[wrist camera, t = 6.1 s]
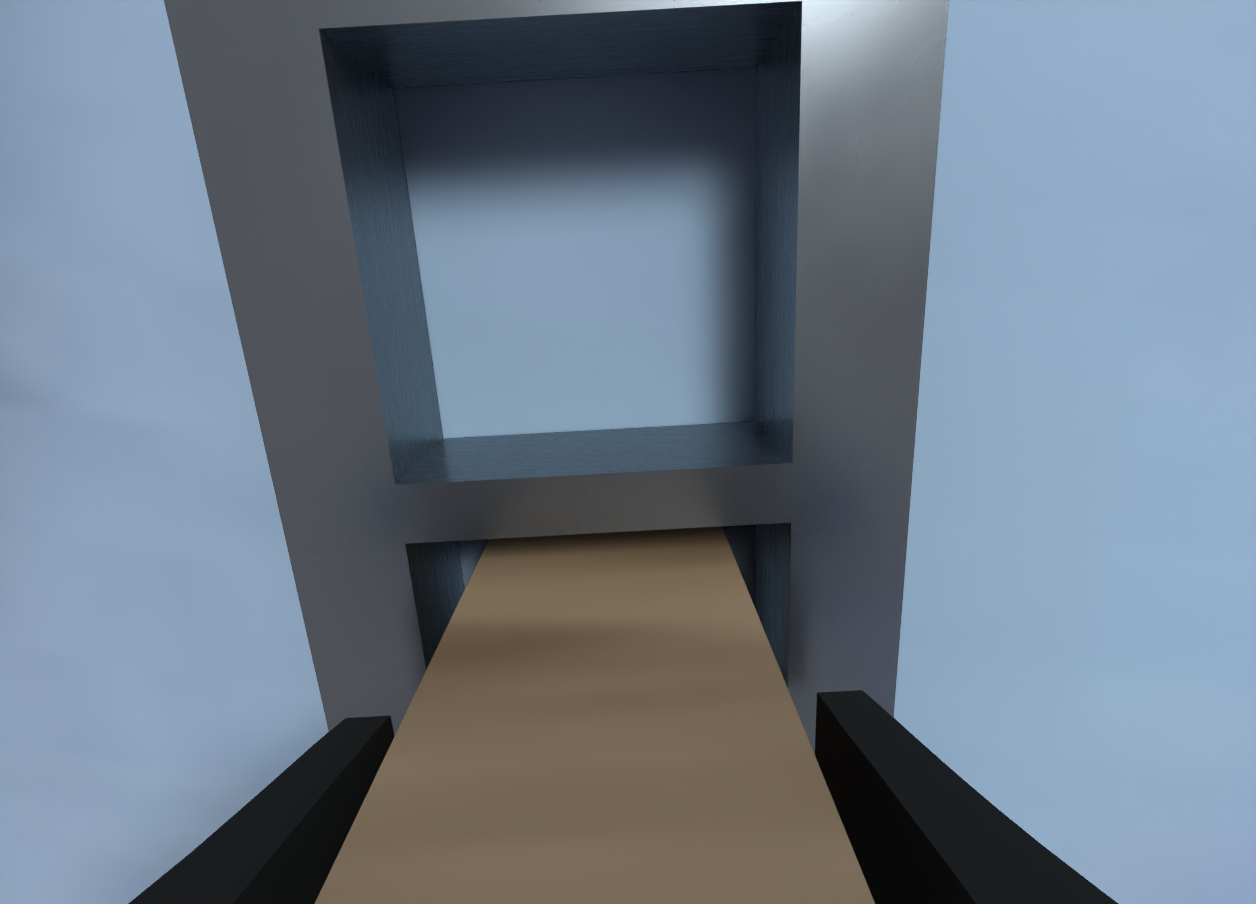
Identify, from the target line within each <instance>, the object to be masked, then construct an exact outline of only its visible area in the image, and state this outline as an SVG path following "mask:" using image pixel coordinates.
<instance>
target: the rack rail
mask: <svg viewBox="0 0 1256 904" xmlns="http://www.w3.org/2000/svg"><path fill="white" fill-rule="evenodd" d="M164 2H165V7H166V11H167V16H168V20H169V24H170V29H171V33H172V38H173V42H174V47H175V51H176V55H177V60H178V64H179V69H180V73H181V78H182V82H183V87H184V91H185V95H186V100H187V104H188V109H189V113H190V118H191V122H192V126H193V131H194V135H195V140H196V144H197V149H198V153H199V157H200V162H201V166H202V171H203V175H204V180H205V184H206V188H207V193H208V197H209V202H210V206H211V211H212V215H213V220H214V224H215V228H216V233H217V237H218V242H219V246H220V251H221V255H222V259H223V264H224V268H225V273H226V277H227V282H228V286H229V290H230V295H231V299H232V304H233V308H234V313H235V317H236V321H237V326H238V330H239V335H240V339H241V344H242V348H243V353H244V357H245V361H246V366H247V370H248V375H249V379H250V384H251V388H252V392H253V397H254V401H255V406H256V410H257V415H258V419H259V423H260V428H261V432H262V437H263V441H264V446H265V450H266V454H267V459H268V463H269V468H270V472H271V477H272V481H273V485H274V490H275V494H276V499H277V503H278V508H279V512H280V517H281V521H282V525H283V530H284V534H285V539H286V543H287V548H288V552H289V556H290V561H291V565H292V570H293V574H294V579H295V583H296V587H297V592H298V596H299V601H300V605H301V610H302V614H303V618H304V623H305V627H306V632H307V636H308V641H309V645H310V650H311V654H312V658H313V663H314V667H315V672H316V676H317V681H318V685H319V689H320V694H321V698H322V703H323V707H324V712H325V716H326V720H327V725H328V729H329V731H330V730H332V729H333V728H334V727H335V726H337V725H338V724H339V723H340V722H341V721H343V720H344V719H345V718H353V717H372V716H390V715H391V720H392V725H393V730H394V736H395V735H396V733H397V730H398V728H399V726H400V724H401V722H402V720H403V718H404V716H405V714H406V712H407V710H408V707H409V705H410V703H411V701H412V699H413V697H414V695H415V693H416V691H417V689H418V687H419V684H420V682H421V680H422V678H423V676H424V674H425V672H426V670H427V668H428V666H429V664H430V661H431V659H432V657H433V655H434V653H435V651H436V649H437V647H438V645H439V643H440V641H441V638H442V636H443V634H444V632H445V630H446V628H447V626H448V624H449V622H450V620H451V618H452V615H453V613H454V611H455V609H456V607H457V605H458V603H459V601H460V599H461V597H462V595H463V592H464V590H465V589H464V582H463V575H462V568H461V561H460V554H459V547H458V541H463V540H481V539H499V538H517V537H536V536H554V535H572V534H590V533H609V532H627V531H645V530H663V529H682V528H700V527H718V526H736V525H755V609H756V612H757V614H758V616H759V619H760V621H761V624H762V626H763V629H764V631H765V634H766V636H767V639H768V641H769V644H770V646H771V649H772V651H773V653H774V656H775V658H776V661H777V663H778V666H779V668H780V671H781V673H782V676H783V678H784V681H785V683H786V685H787V688H788V690H789V693H790V695H791V698H792V700H793V703H794V705H795V708H796V710H797V713H798V715H799V718H800V720H801V722H802V725H803V727H804V730H805V732H806V735H807V737H808V740H809V742H810V745H811V747H812V750H813V752H814V755H815V732H816V704H817V693H818V692H836V691H855V690H863V691H864V692H865V693H866V694H867V695H869V696H870V697H871V698H872V699H873V700H874V701H875V702H877V703H878V704H879V705H880V706H881V707H882V708H883V709H884V710H885V711H887V712H888V713H889V714H890V715H891V716H892V717H893V716H894V703H895V690H896V677H897V664H898V651H899V638H900V626H901V613H902V600H903V587H904V574H905V561H906V548H907V535H908V522H909V509H910V496H911V484H912V471H913V458H914V445H915V432H916V419H917V406H918V393H919V380H920V367H921V354H922V342H923V329H924V316H925V303H926V290H927V277H928V264H929V251H930V238H931V225H932V212H933V200H934V187H935V174H936V161H937V148H938V135H939V122H940V109H941V96H942V83H943V70H944V58H945V45H946V32H947V19H948V6H949V0H164ZM751 67H757V197H756V421H754V422H736V423H718V424H700V425H682V426H664V427H646V428H628V429H610V430H592V431H574V432H555V433H537V434H519V435H501V436H483V437H465V438H447V439H443V434H442V427H441V420H440V413H439V406H438V399H437V392H436V385H435V378H434V371H433V364H432V357H431V350H430V343H429V335H428V328H427V321H426V314H425V307H424V300H423V293H422V286H421V279H420V272H419V265H418V258H417V251H416V244H415V237H414V230H413V223H412V216H411V209H410V202H409V194H408V187H407V180H406V173H405V166H404V159H403V152H402V145H401V138H400V131H399V124H398V117H397V110H396V103H395V96H394V89H393V88H402V87H419V86H437V85H454V84H471V83H489V82H506V81H524V80H541V79H559V78H576V77H594V76H611V75H628V74H646V73H663V72H681V71H698V70H716V69H733V68H751Z"/></svg>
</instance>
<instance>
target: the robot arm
mask: <svg viewBox="0 0 1256 904" xmlns="http://www.w3.org/2000/svg"><path fill="white" fill-rule="evenodd" d="M394 737H395V736H394V730H393V725H392V720H391V715H390V716H372V717H353V718H345V719H344V720H343V721H341V722H340V723H339V724H338V725H337V726H335V727H334V728H333V729H332V730H330V731H329V732H328V733H327V734H326V735H325V736H323V737H322V738H321V739H320V740H319V741H318V742H317V743H315V744H314V745H313V746H312V747H311V748H310V749H309V750H307V751H306V752H305V753H304V754H303V755H302V756H301V757H300V758H298V759H297V760H296V761H295V762H294V763H293V764H292V765H291V766H289V767H288V768H287V769H286V770H285V771H284V772H283V773H282V774H280V775H279V776H278V777H277V778H276V779H275V780H274V781H273V782H271V783H270V784H269V785H268V786H267V787H266V788H265V789H264V790H262V791H261V792H260V793H259V794H258V795H257V796H256V797H254V798H253V799H252V800H251V801H250V802H249V803H248V804H246V805H245V806H244V807H243V808H242V809H241V810H240V811H238V812H237V813H236V814H235V815H234V816H233V817H231V818H230V819H229V820H228V821H227V822H226V823H225V824H223V825H222V826H221V827H220V828H219V829H218V830H217V831H215V832H214V833H213V834H212V835H211V836H210V837H209V838H207V839H206V840H205V841H204V842H203V843H202V844H201V845H199V846H198V847H197V848H196V849H195V850H193V851H192V852H191V853H190V854H189V855H187V856H186V857H185V858H184V859H183V860H181V861H180V862H179V863H178V864H176V865H175V866H174V867H173V868H172V869H170V870H169V871H168V872H167V873H165V874H164V875H163V876H162V877H161V878H159V879H158V880H157V881H156V882H155V883H153V884H152V885H151V886H150V887H148V888H147V889H146V890H145V891H144V892H142V893H141V894H140V895H139V896H137V897H136V898H135V899H134V900H133V901H131V902H130V903H129V904H315V902H316V900H317V898H318V896H319V894H320V891H321V889H322V887H323V885H324V883H325V881H326V879H327V877H328V875H329V873H330V871H331V868H332V866H333V864H334V862H335V860H336V858H337V856H338V854H339V852H340V850H341V848H342V845H343V843H344V841H345V839H346V837H347V835H348V833H349V831H350V829H351V827H352V825H353V822H354V820H355V818H356V816H357V814H358V812H359V810H360V808H361V806H362V804H363V802H364V799H365V797H366V795H367V793H368V791H369V789H370V787H371V785H372V783H373V781H374V779H375V776H376V774H377V772H378V770H379V768H380V766H381V764H382V762H383V760H384V758H385V756H386V753H387V751H388V749H389V747H390V745H391V743H392V741H393V739H394ZM815 757H816V759H817V762H818V764H819V767H820V769H821V772H822V774H823V777H824V779H825V782H826V784H827V787H828V789H829V791H830V794H831V796H832V799H833V801H834V804H835V806H836V809H837V811H838V814H839V816H840V819H841V821H842V824H843V826H844V828H845V831H846V833H847V836H848V838H849V841H850V843H851V846H852V848H853V851H854V853H855V856H856V858H857V860H858V863H859V865H860V868H861V870H862V873H863V875H864V878H865V880H866V883H867V885H868V888H869V890H870V893H871V895H872V897H873V900H874V902H875V904H1118V903H1117V902H1115V901H1114V900H1113V899H1111V898H1110V897H1109V896H1107V895H1106V894H1105V893H1103V892H1102V891H1101V890H1099V889H1098V888H1097V887H1096V886H1094V885H1093V884H1092V883H1090V882H1089V881H1088V880H1087V879H1085V878H1084V877H1083V876H1081V875H1080V874H1079V873H1077V872H1076V871H1075V870H1074V869H1072V868H1071V867H1070V866H1068V865H1067V864H1066V863H1065V862H1063V861H1062V860H1061V859H1059V858H1058V857H1057V856H1056V855H1054V854H1053V853H1052V852H1050V851H1049V850H1048V849H1046V848H1045V847H1044V846H1043V845H1041V844H1040V843H1039V842H1038V841H1036V840H1035V839H1034V838H1033V837H1031V836H1030V835H1029V834H1028V833H1027V832H1025V831H1024V830H1023V829H1022V828H1020V827H1019V826H1018V825H1017V824H1015V823H1014V822H1013V821H1012V820H1010V819H1009V818H1008V817H1007V816H1006V815H1004V814H1003V813H1002V812H1001V811H1000V810H998V809H997V808H996V807H995V806H994V805H992V804H991V803H990V802H989V801H988V800H987V799H985V798H984V797H983V796H982V795H981V794H979V793H978V792H977V791H976V790H975V789H974V788H972V787H971V786H970V785H969V784H968V783H967V782H965V781H964V780H963V779H962V778H961V777H960V776H958V775H957V774H956V773H955V772H954V771H953V770H952V769H950V768H949V767H948V766H947V765H946V764H945V763H943V762H942V761H941V760H940V759H939V758H938V757H937V756H936V755H934V754H933V753H932V752H931V751H930V750H929V749H928V748H927V747H925V746H924V745H923V744H922V743H921V742H920V741H919V740H918V739H916V738H915V737H914V736H913V735H912V734H911V733H910V732H909V731H908V730H906V729H905V728H904V727H903V726H902V725H901V724H900V723H899V722H898V721H897V720H895V719H894V718H893V717H892V716H891V715H890V714H889V713H888V712H887V711H885V710H884V709H883V708H882V707H881V706H880V705H879V704H878V703H877V702H875V701H874V700H873V699H872V698H871V697H870V696H869V695H867V694H866V693H865V692H864V691H863V690H855V691H836V692H818V693H817V704H816V732H815Z"/></svg>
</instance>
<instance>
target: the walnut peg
mask: <svg viewBox="0 0 1256 904" xmlns="http://www.w3.org/2000/svg"><path fill="white" fill-rule="evenodd" d="M315 904H875V902H874V900H873V897H872V895H871V893H870V890H869V888H868V885H867V883H866V880H865V878H864V875H863V873H862V870H861V868H860V865H859V863H858V860H857V858H856V856H855V853H854V851H853V848H852V846H851V843H850V841H849V838H848V836H847V833H846V831H845V828H844V826H843V824H842V821H841V819H840V816H839V814H838V811H837V809H836V806H835V804H834V801H833V799H832V796H831V794H830V791H829V789H828V787H827V784H826V782H825V779H824V777H823V774H822V772H821V769H820V767H819V764H818V762H817V759H816V757H815V755H814V752H813V750H812V747H811V745H810V742H809V740H808V737H807V735H806V732H805V730H804V727H803V725H802V722H801V720H800V718H799V715H798V713H797V710H796V708H795V705H794V703H793V700H792V698H791V695H790V693H789V690H788V688H787V685H786V683H785V681H784V678H783V676H782V673H781V671H780V668H779V666H778V663H777V661H776V658H775V656H774V653H773V651H772V649H771V646H770V644H769V641H768V639H767V636H766V634H765V631H764V629H763V626H762V624H761V621H760V619H759V616H758V614H757V612H756V609H755V607H754V604H753V602H752V599H751V597H750V594H749V592H748V589H747V587H746V584H745V582H744V580H743V577H742V575H741V572H740V570H739V567H738V565H737V562H736V560H735V557H734V555H733V552H732V550H731V547H730V545H729V543H728V540H727V538H726V535H725V533H724V530H723V528H722V526H718V527H700V528H682V529H663V530H645V531H627V532H609V533H590V534H572V535H554V536H536V537H517V538H499V539H489V540H488V542H487V544H486V546H485V549H484V551H483V553H482V555H481V557H480V559H479V561H478V563H477V565H476V567H475V569H474V572H473V574H472V576H471V578H470V580H469V582H468V584H467V586H466V588H465V590H464V592H463V595H462V597H461V599H460V601H459V603H458V605H457V607H456V609H455V611H454V613H453V615H452V618H451V620H450V622H449V624H448V626H447V628H446V630H445V632H444V634H443V636H442V638H441V641H440V643H439V645H438V647H437V649H436V651H435V653H434V655H433V657H432V659H431V661H430V664H429V666H428V668H427V670H426V672H425V674H424V676H423V678H422V680H421V682H420V684H419V687H418V689H417V691H416V693H415V695H414V697H413V699H412V701H411V703H410V705H409V707H408V710H407V712H406V714H405V716H404V718H403V720H402V722H401V724H400V726H399V728H398V730H397V733H396V735H395V737H394V739H393V741H392V743H391V745H390V747H389V749H388V751H387V753H386V756H385V758H384V760H383V762H382V764H381V766H380V768H379V770H378V772H377V774H376V776H375V779H374V781H373V783H372V785H371V787H370V789H369V791H368V793H367V795H366V797H365V799H364V802H363V804H362V806H361V808H360V810H359V812H358V814H357V816H356V818H355V820H354V822H353V825H352V827H351V829H350V831H349V833H348V835H347V837H346V839H345V841H344V843H343V845H342V848H341V850H340V852H339V854H338V856H337V858H336V860H335V862H334V864H333V866H332V868H331V871H330V873H329V875H328V877H327V879H326V881H325V883H324V885H323V887H322V889H321V891H320V894H319V896H318V898H317V900H316V902H315Z"/></svg>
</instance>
